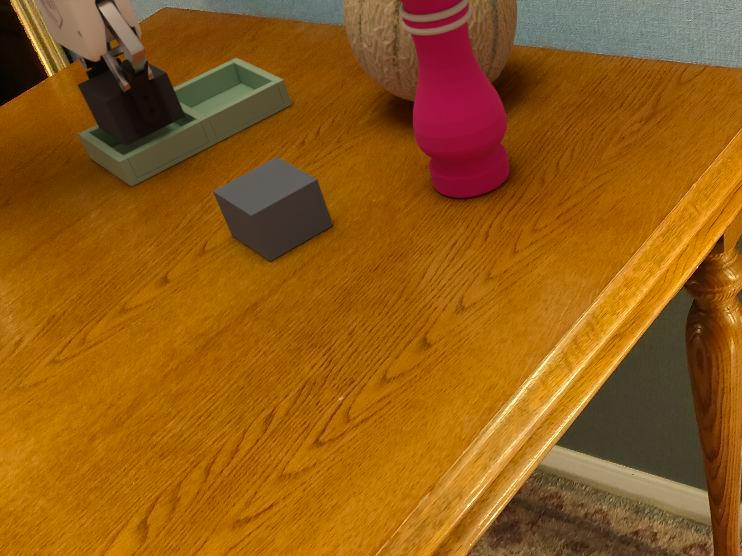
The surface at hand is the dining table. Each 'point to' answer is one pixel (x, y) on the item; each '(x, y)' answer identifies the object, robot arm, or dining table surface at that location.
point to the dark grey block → (112, 109)
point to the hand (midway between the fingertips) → (138, 116)
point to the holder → (193, 121)
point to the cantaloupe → (397, 49)
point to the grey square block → (273, 208)
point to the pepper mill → (454, 101)
